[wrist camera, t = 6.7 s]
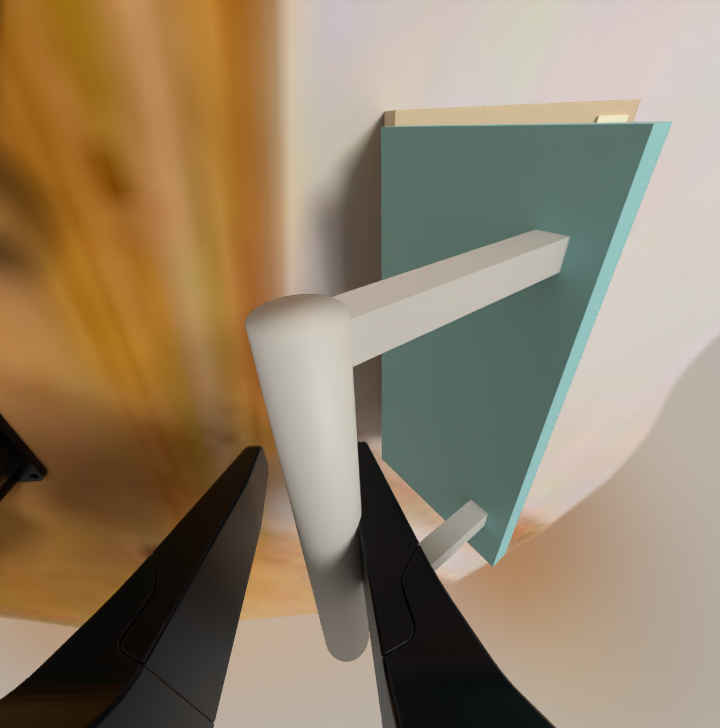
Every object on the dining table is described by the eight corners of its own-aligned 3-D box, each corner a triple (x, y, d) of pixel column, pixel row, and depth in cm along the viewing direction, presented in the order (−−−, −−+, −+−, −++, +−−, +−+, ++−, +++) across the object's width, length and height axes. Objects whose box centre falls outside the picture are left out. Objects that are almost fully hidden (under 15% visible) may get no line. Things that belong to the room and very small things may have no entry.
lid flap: (504, 554, 15) (354, 708, 11) (392, 451, 20) (261, 535, 16) (672, 121, 6) (255, 167, 3) (400, 125, 11) (118, 143, 7)
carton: (505, 407, 23) (526, 443, 21) (383, 416, 23) (389, 453, 20) (586, 102, 14) (642, 99, 11) (384, 111, 14) (395, 110, 11)
